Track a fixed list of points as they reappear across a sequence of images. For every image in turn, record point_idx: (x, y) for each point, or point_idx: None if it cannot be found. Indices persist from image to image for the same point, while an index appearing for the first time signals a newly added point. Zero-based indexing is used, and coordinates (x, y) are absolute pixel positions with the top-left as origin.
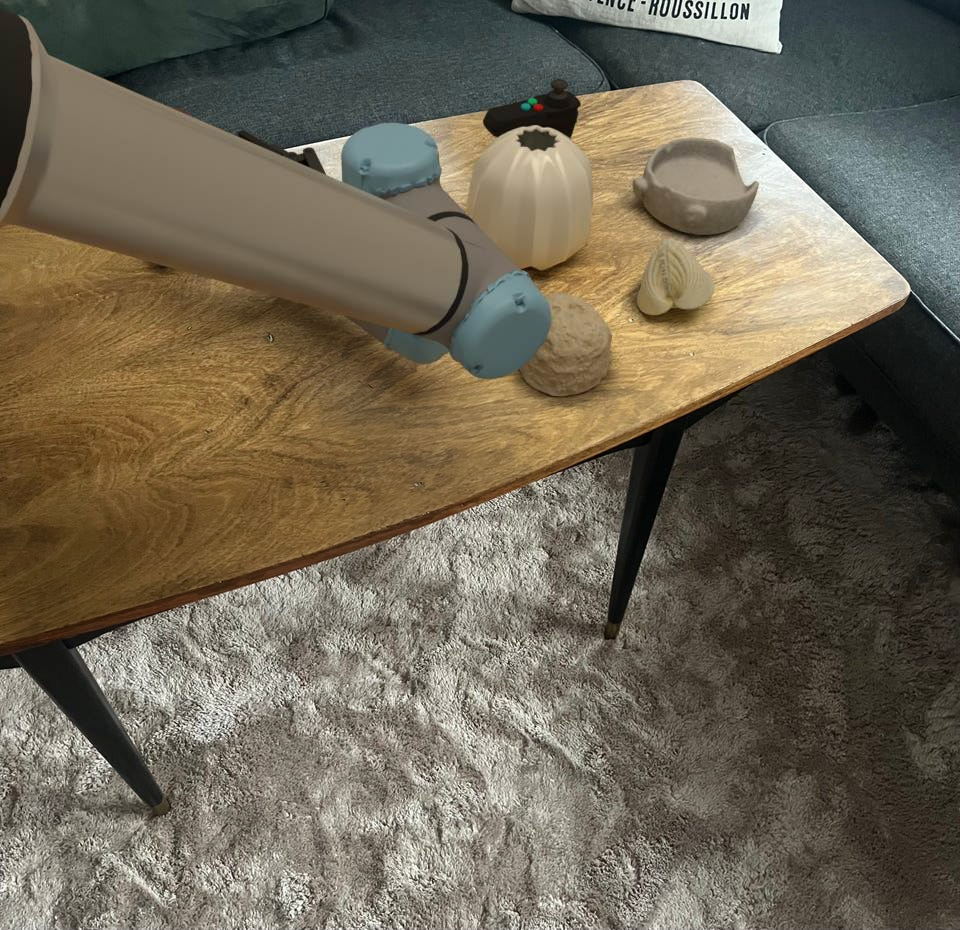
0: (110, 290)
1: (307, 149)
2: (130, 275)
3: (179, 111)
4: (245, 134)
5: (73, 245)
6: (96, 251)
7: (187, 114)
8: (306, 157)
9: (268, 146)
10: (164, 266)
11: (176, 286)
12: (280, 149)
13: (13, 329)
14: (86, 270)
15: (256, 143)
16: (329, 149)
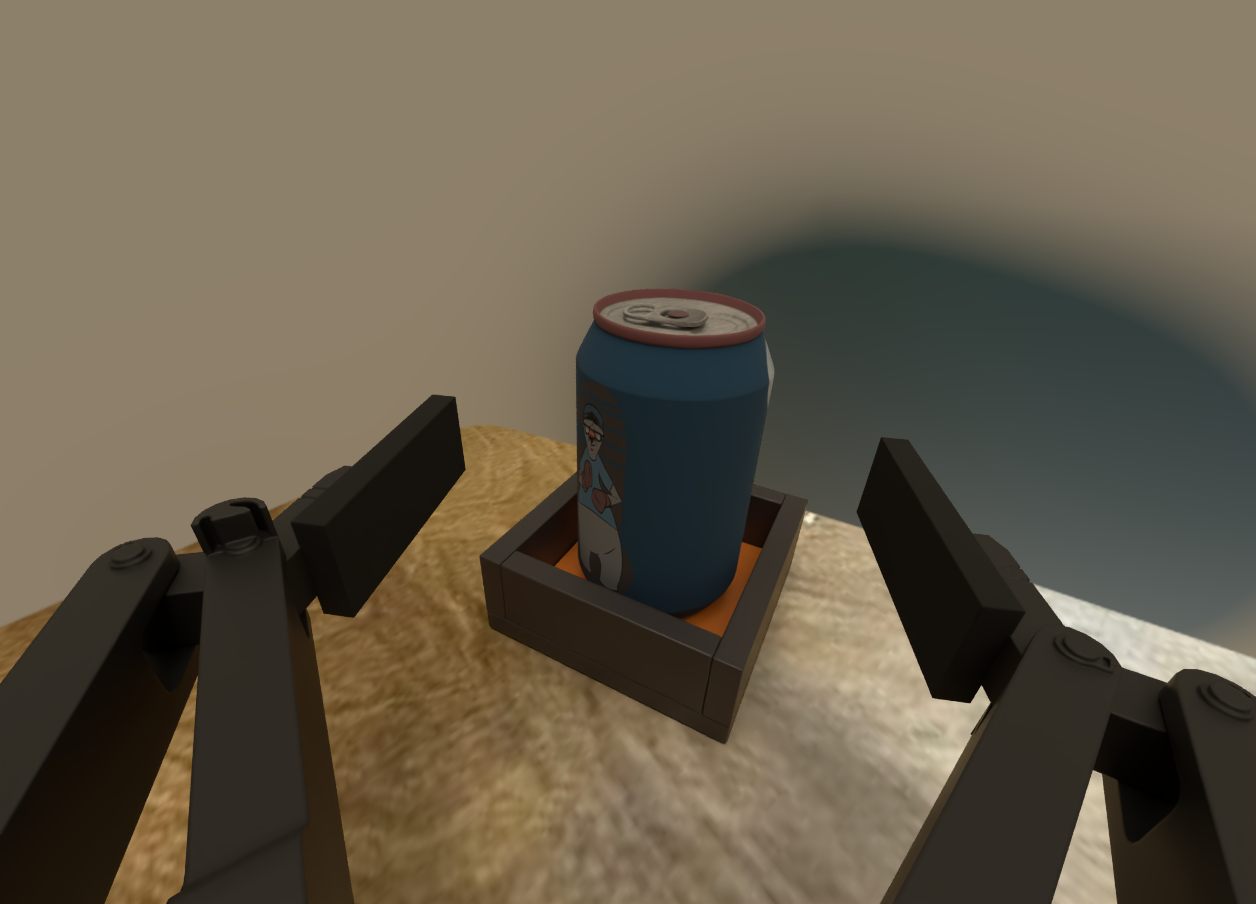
0: (372, 598)
1: (1223, 693)
2: (440, 595)
3: (752, 314)
4: (902, 454)
5: (483, 482)
6: (485, 512)
7: (760, 322)
8: (1199, 746)
9: (966, 538)
10: (499, 629)
11: (439, 706)
12: (1019, 580)
13: (197, 547)
14: (423, 531)
15: (920, 499)
16: (1143, 624)
